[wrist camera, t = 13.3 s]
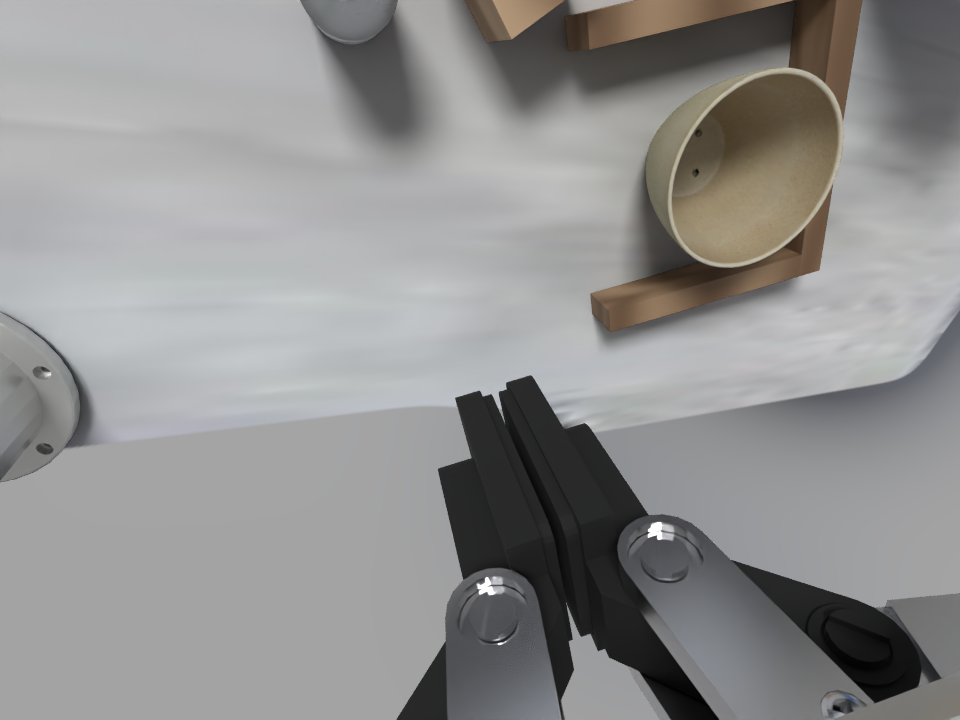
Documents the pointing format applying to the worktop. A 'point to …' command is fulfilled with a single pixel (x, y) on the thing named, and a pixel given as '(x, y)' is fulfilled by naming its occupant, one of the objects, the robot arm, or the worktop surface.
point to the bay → (815, 48)
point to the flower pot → (745, 165)
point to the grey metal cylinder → (350, 18)
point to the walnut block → (508, 16)
